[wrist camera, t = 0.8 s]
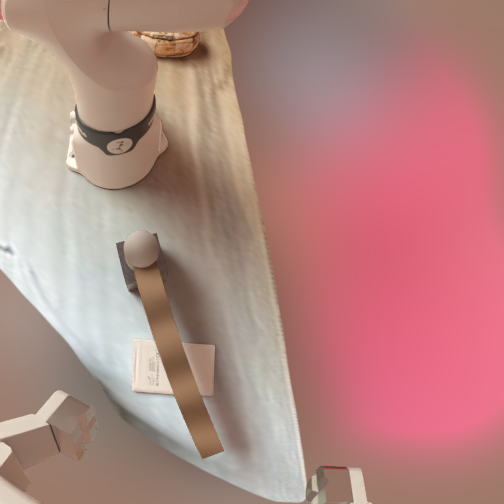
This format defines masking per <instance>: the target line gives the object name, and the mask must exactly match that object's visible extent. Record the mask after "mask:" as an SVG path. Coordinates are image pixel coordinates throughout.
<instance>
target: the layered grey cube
mask: <svg viewBox="0 0 504 504" xmlns="http://www.w3.org/2000/svg"><path fill="white" fill-rule="evenodd" d="M153 235H154V236H155V237H156V239H157V241H158V243H159V240H158V236H157V233H155V234H153ZM124 243H125V241H123V242H119V243H116V245H117V250H118V254H119V258H120V262H121V267H122V271H123V274H124V278H125V282H126V286H127V288H128V291H130V290H134V289H138V285H137V281H136V278H135V274H134V272H133V271H132V270H131V269H130V268H129V267H128V265H127V263H126V259H125V254H124ZM157 264H158V268H159V272H160V275H161V279H162V282H163V281H165V280H166V277H167V275H168V273H167V269H166V266H165V262H164V259H163V255H162V251H161V248H160V244H159V253H158V258H157Z"/></svg>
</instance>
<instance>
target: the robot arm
mask: <svg viewBox="0 0 504 504" xmlns="http://www.w3.org/2000/svg"><path fill="white" fill-rule="evenodd" d="M247 2H248V0H1V12H2V16H3V19H4V22H5V24H6V25H7V27H8V28H9V29H10V31H11V32H12V33H14V34H16V35H19V36H23V37H25V38H28V39H30V40H32V41H34V42H36V43H37V44H39V45H41V46H42V47H43V48H45V49H46V50H47V51H48V52H50V53H51V54H52V55H53V56H54V57H55V58H56V59H57V60H58V61H59V62H60V64H61V65H62V66H63V67H64V69H65V70H66V72H67V73H68V75H69V77H70V80H71V83H72V87H73V91H74V95H75V100H76V106H75V111H72V112H71V114H70V122H71V124H73V126H71V127H70V134H71V137H70V142H69V149H68V155H67V167H68V168H69V169H70V170H72V171H75V172H78V173H81V174H82V175H83V176H84V177H85V178H86V179H87V180H89V181H90V182H91V183H93V184H94V185H97V186H99V187H102V188H107V189H119V188H124V187H128V186H130V185H133V184H135V183H137V182H138V181H140V180H141V179H143V178H144V177H145V176H146V175H147V174H148V173H149V171H150V170H151V169H152V167H153V165H154V163H155V161H156V159H157V157H158V156H159V155H160V154H161V153H163V152H164V151H165V150H166V149H167V147H168V140H167V138H166V136H165V134H164V133H163V131H162V129H161V128H162V122H161V120H160V119H159V118H158V116H157V114H156V112H155V111H156V100H155V95H154V90H155V83H156V77H157V71H158V63H157V59H156V56H155V54H154V52H153V51H152V49H151V47H150V46H149V45H148V44H147V43H146V42H145V41H144V40H142V39H141V38H139V37H137V36H136V35H134V34H131V33H129V32H128V31H143V32H164V33H184V32H201V31H217V30H220V29H222V28H224V27H225V26H227V25H228V24H230V23H231V22H232V21H233V20H234V19H235V18H236V17H237V16H238V15H239V14H240V13H241V11H242V10H243V9H244V7H245V6H246V4H247ZM73 156H74V158H72V157H73ZM94 415H95V409H94V407H92V406H90V405H88V404H86V403H84V402H82V401H80V400H78V399H76V398H74V397H72V396H70V395H68V394H66V393H64V392H62V391H60V390H59V391H56V392H55V393H54V394H53V395H52V396H51V398H50V399H49V400H48V401H47V402H46V403H45V404H44V406H43V407H42V408H41V409H40V410H39V411H38V413H37V414H36V415H33V414H30V415H26V416H23V417H19V418H15V419H12V420H8V421H4V422H0V504H42V503H40V502H39V501H37V500H35V499H34V498H32V497H31V496H29V495H28V494H26V493H25V491H26V490H27V488H28V487H29V485H30V484H31V482H30V479H29V477H28V476H27V474H26V473H25V471H24V469H27V468H29V467H31V466H34V465H36V464H38V463H40V462H42V461H45V460H47V459H49V458H51V457H53V456H55V455H57V454H59V453H60V452H61V453H63V454H64V455H66V456H68V457H71V458H72V459H74V460H76V461H80V459H81V458H82V456H83V455H84V453H85V451H86V445H85V444H87V443H89V442H92V440H93V438H94V436H95V434H96V430H97V421H96V419H95V418H94V417H93V416H94ZM306 499H307V500H308V501H309V502H310V503H309V504H372V503H371V502H367V497H366V491H365V485H364V481H363V476H362V470H361V469H360V468H353V467H351V468H350V467H335V466H320V467H319V468H318V469H317V470H316V475H314V476H312V477H311V478H310V480H309V481H308V484H307V487H306Z"/></svg>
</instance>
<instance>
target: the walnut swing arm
mask: <svg viewBox="0 0 504 504" xmlns="http://www.w3.org/2000/svg"><path fill="white" fill-rule="evenodd" d="M158 253H159V243H158V241H157V239H156V237H155V236H154V235H153V234H151V233H149V232H147V231H136V232H133V233H132V234H130V235H129V236H128V237H127V239H126V240H125V243H124V254H125V259H126V263H127V265H128V267H129V268H130V269H131V270H132V271H133V272H134V274H135V278H136V281H137V285H138V289H139V292H140V296H141V299H142V302H143V306H144V309H145V313H146V316H147V319H148V322H149V325H150V329H151V332H152V335H153V338H154V341H155V344H156V347H157V350H158V353H159V355H160V358H161V361H162V364H163V367H164V369H165V372H166V375H167V378H168V380H169V383H170V385H171V388H172V391H173V393H174V396H175V398H176V401H177V403H178V406H179V408H180V411H181V413H182V415H183V418H184V420H185V423H186V425H187V427H188V429H189V432H190V434H191V436H192V438H193V441H194V443H195V445H196V447H197V449H198V451H199V453H200V455H201V457H202V459H204V458H207V457H209V456H212V455H215V454H217V453H220V452H223V451H224V449H223V447H222V445H221V442H220V440H219V438H218V436H217V433H216V431H215V429H214V426H213V424H212V421H211V419H210V417H209V414H208V412H207V409H206V407H205V404H204V402H203V399H202V397H201V394H200V391H199V389H198V386H197V384H196V381H195V378H194V376H193V373H192V370H191V367H190V365H189V362H188V359H187V356H186V353H185V351H184V348H183V345H182V342H181V339H180V336H179V333H178V330H177V327H176V324H175V321H174V318H173V315H172V312H171V308H170V305H169V302H168V299H167V295H166V292H165V289H164V285H163V282H162V279H161V275H160V272H159V268H158V264H157V258H158Z"/></svg>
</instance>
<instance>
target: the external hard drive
mask: <svg viewBox="0 0 504 504" xmlns="http://www.w3.org/2000/svg"><path fill="white" fill-rule="evenodd" d="M182 345H183V348H184V351H185V353H186V356H187V359H188V362H189V365H190V367H191V370H192V373H193V376H194V378H195V381H196V384H197V386H198V389H199V391H200V394H201V396H213V389H214V361H215V345H208V344H192V343H182ZM132 391H138V392H148V393H160V394H174V393H173V391H172V388H171V385H170V383H169V380H168V378H167V375H166V372H165V369H164V367H163V364H162V361H161V358H160V355H159V353H158V350H157V347H156V344H155V341H154V340H146V339H137V338H134V351H133V381H132Z"/></svg>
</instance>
